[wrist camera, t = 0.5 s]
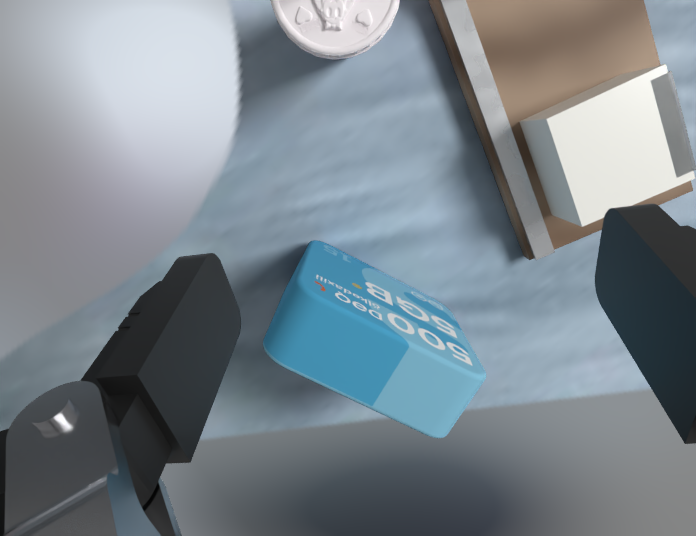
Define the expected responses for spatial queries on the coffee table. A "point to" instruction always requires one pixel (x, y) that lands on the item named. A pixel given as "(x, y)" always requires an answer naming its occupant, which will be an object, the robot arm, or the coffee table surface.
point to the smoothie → (335, 24)
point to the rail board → (554, 71)
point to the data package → (374, 341)
